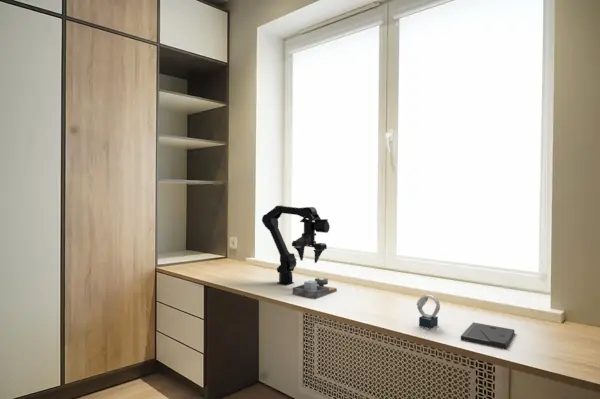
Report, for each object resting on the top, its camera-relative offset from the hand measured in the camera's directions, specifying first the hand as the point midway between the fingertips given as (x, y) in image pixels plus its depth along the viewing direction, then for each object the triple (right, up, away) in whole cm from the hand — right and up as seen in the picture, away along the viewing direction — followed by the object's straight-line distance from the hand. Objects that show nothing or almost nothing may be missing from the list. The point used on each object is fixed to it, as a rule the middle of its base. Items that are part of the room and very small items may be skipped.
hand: (308, 261), depth 207 cm
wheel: (+6, -9, -9) cm, 14 cm away
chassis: (+3, -13, -13) cm, 18 cm away
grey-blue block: (+1, -13, -16) cm, 21 cm away
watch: (+42, -14, -61) cm, 75 cm away
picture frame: (+59, -15, -72) cm, 94 cm away
